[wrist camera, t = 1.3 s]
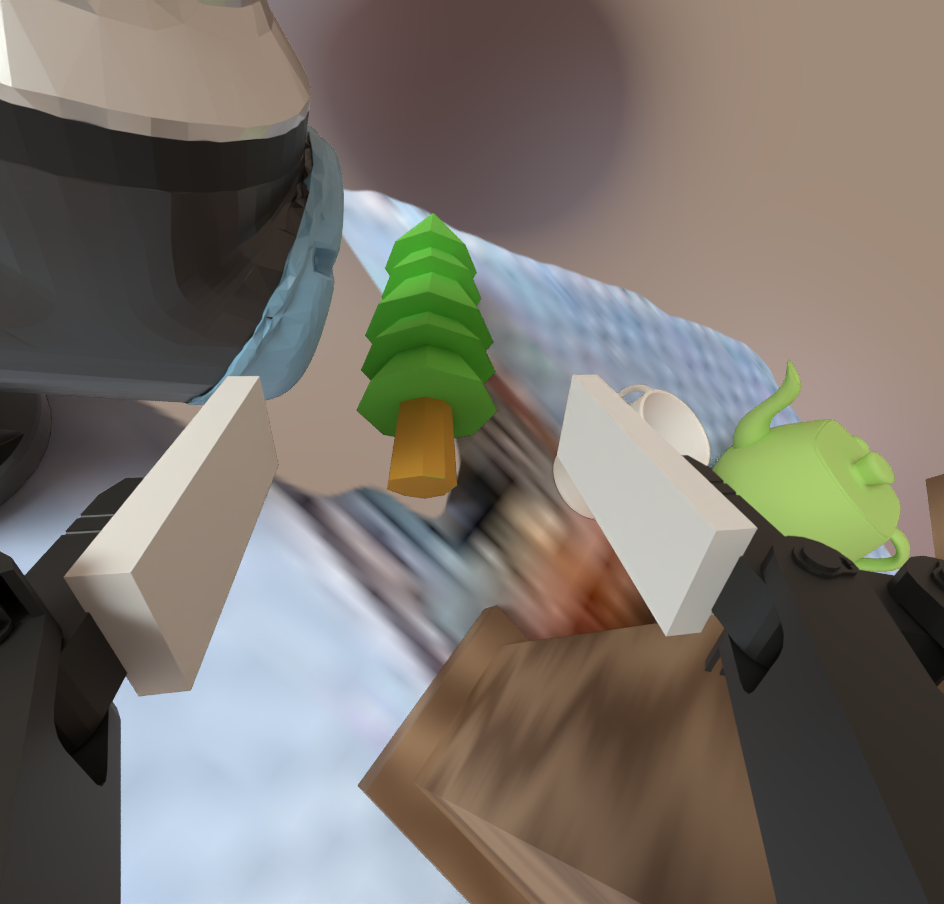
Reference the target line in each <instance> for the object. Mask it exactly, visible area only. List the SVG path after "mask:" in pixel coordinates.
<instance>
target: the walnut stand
mask: <svg viewBox="0 0 944 904" xmlns="http://www.w3.org/2000/svg"><path fill="white" fill-rule="evenodd" d="M926 486H927V493H928V501H929V510H930V518H931V526H932V534H933V541H934V549H935V557H936V558H938V559H942V560H944V474H942V475H939V476H936V477H932V478H929V479H926ZM723 629H724V627H723V626H722V624H721V623H720V622H719V620H718V619H717V618H716V616H715V615H712V616H710V617H709V618H708V620H707V622H706V624H705V626H704V628H703V630H702V631H701V632H700V633H692V634H683V635H674V636H665V634H664V633H663V631H662V629H661V628H660V626H659V624H658V623H656V624H649V625H642V626H635V627H628V628H621V629H614V630H606V631H599V632H592V633H585V634H578V635H571V636H564V637H557V638H550V639H543V640H536V641H530V640H529V639H528V638H527V637H526V636H525V635H524V634H523V633H522V631H521V630H520V629H519V628H518V627H517V626H516V625H515V624H514V623H513V622H512V621H511V620H510V619H509V618H508V617H507V616H506V615H505V614H504V613H503V612H502V611H501V610H500V608H499V607H498V606H493V607H490V608H487V609H484V611H483V612H482V613H481V615H480V616H479V618H478V619H477V620H476V622H475V623H474V625H473V626H472V627H471V629H470V630H469V631H468V633H467V634H466V636H465V637H464V638H463V640H462V641H461V643H460V644H459V645H458V647H457V648H456V650H455V651H454V652H453V654H452V655H451V657H450V658H449V659H448V661H447V662H446V663H445V665H444V666H443V668H442V669H441V670H440V672H439V673H438V675H437V676H436V677H435V679H434V680H433V682H432V683H431V684H430V686H429V687H428V689H427V690H426V691H425V693H424V694H423V695H422V697H421V698H420V700H419V701H418V702H417V704H416V705H415V707H414V708H413V709H412V711H411V712H410V714H409V715H408V716H407V718H406V719H405V721H404V722H403V723H402V725H401V726H400V727H399V729H398V730H397V732H396V733H395V734H394V736H393V737H392V739H391V740H390V741H389V743H388V744H387V746H386V747H385V748H384V750H383V751H382V753H381V754H380V755H379V757H378V758H377V760H376V761H375V762H374V764H373V765H372V766H371V768H370V769H369V771H368V772H367V773H366V775H365V776H364V778H363V779H362V780H361V782H360V783H359V785H358V787H359V788H360V789H361V790H362V791H363V792H364V793H365V794H366V795H367V796H368V797H369V798H370V799H371V800H372V801H373V802H374V804H375V805H376V806H377V807H378V808H379V809H380V810H381V811H382V812H383V813H384V814H385V815H386V816H387V817H388V818H389V819H390V820H391V821H392V822H393V823H394V824H395V825H396V827H397V828H398V829H399V830H400V831H401V832H402V833H403V834H404V835H405V836H406V837H407V838H408V839H409V840H410V841H411V842H412V843H413V844H414V845H415V846H416V847H417V848H418V850H419V851H420V852H421V853H422V854H423V855H424V856H425V857H426V858H427V859H428V860H429V861H430V862H431V863H432V864H433V865H434V866H435V867H436V868H437V869H438V870H439V871H440V873H441V874H442V875H443V876H444V877H445V878H446V879H447V880H448V881H449V882H450V883H451V884H452V885H453V886H454V887H455V888H456V889H457V890H458V891H459V892H460V893H461V895H462V896H463V897H464V898H465V899H466V900H467V901H468V902H469V903H470V904H777V902H776V897H775V893H774V888H773V884H772V880H771V875H770V871H769V867H768V862H767V858H766V853H765V849H764V845H763V840H762V836H761V831H760V827H759V823H758V818H757V814H756V809H755V805H754V801H753V796H752V792H751V788H750V783H749V779H748V774H747V770H746V766H745V761H744V757H743V752H742V748H741V744H740V739H739V735H738V730H737V726H736V722H735V717H734V713H733V708H732V704H731V700H730V695H729V691H728V687H727V682H726V678H725V676H722V675H719V673H720V670H721V668H722V667H723V665H722V660H721V657H720V658H719V659H718V661H717V663H716V664H715V666H714V668H713V669H712V671H711V672H708V671H705V660H706V658H707V657H708V655H709V653H710V651H711V650H712V648H713V646H714V645H715V643H716V641H717V639H718V638H719V636H720V634H721V633H722V631H723ZM937 688H938V689H939V690H940V691H941V692H942V693H943V694H944V681H942V682H941V683H940V684H939V685H938V686H937Z"/></svg>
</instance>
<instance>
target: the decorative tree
mask: <svg viewBox="0 0 944 904" xmlns="http://www.w3.org/2000/svg"><path fill="white" fill-rule="evenodd" d="M385 269H386V271H387V272H388V274H389V275H390V277H389V280H388V282H387V285H386V287H385V290H384V293H383V295H382V299H383V300H382V301H381V302H380V303H379V304H378V306H377V309H376V311H375V313H374V316H373V318H372V321H371V323H370V325H369V328H368V330H367V332H366V335H365V336H366V337H367V338H368V339H369V340H370V342H371V343H372V346H371V349H370V351H369V353H368V355H367V358H366V360H365V362H364V365H363V367H362V369H361V371H362V372H363V373H364V374H365V375H366V376H367V377H368V378H369V379H370V380H371V381H370V383H369V385H368V388H367V389H366V392H365V394H364V396H363V398H362V400H361V402H360V404H359V406H358V408H357V411H358V412H359V413H360V414H361V415H362V416H363V417H364V418H365V419H367V420H368V421H369V422H370V423H371V424H372V425H373V426H374V427H375V428H377V429H378V430H379V431H380V432H381V433H382V434H383V435H388V436H394V437H395V439H394V446H393V454H392V460H391V467H390V473H389V480H388V487H387V489H388V490H391V491H393V492H396V493H399V494H401V495H404V496H411V497H418V498H431V497H436V496H441V495H445V494H446V493H448V492H449V491H450V490H452V489H453V488H454V487H456V486H457V477H456V462H455V447H454V438H458V437H463V436H468V435H473V434H475V433H476V432H477V431H478V430H479V429H480V428H481V427H482V426H483V425H484V424H485V423H486V422H487V421H488V420H489V419H490V418H491V417H492V416H493V415H494V414H495V413H496V412H497V411H498V410H497V408H496V406H495V405H494V403H493V401H492V399H491V397H490V395H489V393H488V392H487V390H486V388H485V386H484V384H485V383H486V382H487V381H488V379H489V378H490V377H491V376H492V375H493V374H494V373H495V370H494V368H493V366H492V364H491V361H490V359H489V357H488V355H487V353H486V350H487V349H488V348H489V347H490V346H491V344H492V343H493V340H492V338H491V336H490V334H489V331H488V329H487V327H486V325H485V322H484V320H483V318H482V316H481V314H480V311H479V309H478V308H477V307H476V306H477V305H478V303H479V301H480V300H481V297H480V295H479V292H478V290H477V288H476V285H475V283H474V280H473V277H474V276H475V274H476V273H477V272H476V269H475V267H474V265H473V262H472V260H471V257H470V255H469V253H468V250H467V248H466V245H465V244H464V243H463V242H462V241H461V240H460V239H459V238H458V237H457V236H456V235H455V234H454V233H453V232H452V231H451V230H450V229H449V228H448V227H447V226H446V225H445V224H444V223H443V222H442V221H441V220H440V219H439V218H438V217H437V216H436V215H435V214H434V213H432V214H431V215H430V216H428V217H427V218H426V219H424V220H423V221H422V222H421V223H419V224H418V225H417V226H415V227H414V228H413V229H411V230H410V231H409V232H407V233H406V234H405V235H403V236H402V237H401V238H399V239H398V240H397V241H395V244H394V247H393V249H392V252H391V254H390V257H389V259H388V262H387V265H386V267H385Z"/></svg>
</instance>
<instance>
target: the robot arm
mask: <svg viewBox="0 0 944 904" xmlns="http://www.w3.org/2000/svg"><path fill="white" fill-rule="evenodd" d="M310 95H311V86H310V82H309V79H308V76H307V74H306V72H305V70H304V68H303V66H302V64H301V62H300V60H299V58H298V57H297V55H296V53H295V52H294V50H293V48H292V46H291V44H290V43H289V41H288V39H287V37H286V36H285V34H284V32H283V31H282V28H281V27H280V25H279V23H278V22H277V20H276V18H275V16H274V14H273V13H272V11H271V9H270V7H269V4H268V1H267V0H0V505H1V504H2V503H4V502H5V501H6V500H7V499H9V498H10V497H11V496H12V495H13V494H14V493H15V492H16V491H17V490H18V489H19V488H20V487H21V486H22V485H23V484H24V483H25V482H26V480H27V479H28V478H29V477H30V475H31V474H32V473H33V471H34V470H35V468H36V467H37V465H38V464H39V462H40V460H41V458H42V456H43V454H44V452H45V450H46V447H47V444H48V441H49V436H50V430H51V412H50V407H49V402H48V400H47V397H46V394H53V395H69V396H86V397H102V398H118V399H135V400H151V401H168V402H184V403H187V404H191V405H201V404H204V406H203V407H202V408H201V409H200V411H199V412H198V413H197V414H196V415H195V417H194V418H193V419H192V420H191V422H190V423H189V424H188V425H187V426H186V428H185V429H184V430H183V431H182V433H181V434H180V435H179V436H178V437H177V439H176V440H175V441H174V442H173V444H172V445H171V446H170V447H169V448H168V450H167V451H166V452H165V453H164V455H163V456H162V457H161V458H160V460H159V461H158V462H157V463H156V464H155V466H154V467H153V468H152V469H151V471H150V472H149V473H148V474H147V475H146V477H145V478H125V479H124V480H122V481H120V482H119V483H117V484H116V485H114V486H112V487H111V488H109V489H107V490H106V491H104V492H103V493H101V494H99V495H98V496H97V497H96V498H95V500H94V501H93V502H92V503H91V504H90V505H89V506H88V507H87V508H86V509H85V510H84V512H83V513H82V514H81V518H77V519H76V520H75V521H74V522H73V524H72V525H71V526H70V527H69V528H68V529H67V530H66V535H61V537H60V538H59V539H58V540H57V541H56V542H55V543H54V544H53V545H52V546H51V547H50V549H49V550H48V551H47V552H46V553H45V554H44V555H43V556H42V557H41V558H40V559H39V561H38V562H37V563H36V564H35V565H34V566H33V567H32V568H31V569H30V570H29V571H28V573H27V574H26V575H25V576H24V575H23V573H22V572H21V570H20V569H19V567H18V566H17V565H16V563H15V562H14V560H13V559H12V558H11V557H10V556H8V555H6V554H4V553H2V552H0V904H121V719H120V716H119V713H118V710H117V707H116V706H115V704H114V703H113V702H112V701H113V699H114V697H115V695H116V693H117V692H118V690H119V688H120V686H121V684H122V682H123V680H124V678H125V676H126V677H127V679H128V680H129V682H130V683H131V685H132V686H133V688H134V690H135V691H136V693H137V694H138V696H146V695H155V694H164V693H173V692H181V691H190V690H191V689H192V686H193V684H194V681H195V679H196V676H197V673H198V671H199V668H200V666H201V663H202V661H203V658H204V655H205V653H206V650H207V648H208V645H209V643H210V640H211V637H212V635H213V632H214V630H215V627H216V625H217V622H218V619H219V617H220V614H221V612H222V609H223V607H224V604H225V601H226V599H227V596H228V594H229V591H230V589H231V586H232V583H233V581H234V578H235V576H236V573H237V571H238V568H239V565H240V563H241V560H242V558H243V555H244V552H245V550H246V547H247V545H248V542H249V540H250V537H251V534H252V532H253V529H254V527H255V524H256V522H257V519H258V516H259V514H260V511H261V509H262V506H263V504H264V501H265V498H266V496H267V493H268V491H269V488H270V486H271V483H272V480H273V478H274V475H275V473H276V470H277V467H278V460H277V456H276V451H275V446H274V441H273V437H272V432H271V428H270V423H269V418H268V413H267V409H266V404H265V400H269V399H273V398H275V397H278V396H280V395H282V394H284V393H286V392H287V391H288V390H290V389H291V388H292V387H293V386H294V385H295V384H296V383H297V382H298V381H299V379H300V378H301V377H302V375H303V374H304V372H305V371H306V369H307V367H308V365H309V363H310V362H311V360H312V357H313V355H314V353H315V350H316V348H317V345H318V342H319V340H320V337H321V334H322V331H323V328H324V325H325V321H326V318H327V315H328V311H329V307H330V303H331V299H332V294H333V289H334V277H333V270H332V267H333V265H334V263H335V261H336V258H337V255H338V253H339V250H340V243H341V238H342V228H343V214H344V191H343V179H342V172H341V166H340V163H339V159H338V157H337V154H336V152H335V150H334V148H333V147H332V146H331V145H330V144H329V143H328V142H327V141H326V140H325V139H323V138H322V137H320V135H319V134H318V133H317V132H316V131H315V130H314V129H313V128H312V127H310V126H307V124H308V116H309V107H310ZM557 456H558V457H559V459H560V461H561V462H562V464H563V466H564V467H565V469H566V471H567V472H568V474H569V476H570V477H571V479H572V481H573V482H574V484H575V486H576V487H577V489H578V491H579V492H580V494H581V496H582V497H583V499H584V501H585V502H586V504H587V506H588V508H589V509H590V511H591V513H592V514H593V516H594V518H595V519H596V521H597V523H598V524H599V526H600V528H601V529H602V531H603V533H604V534H605V536H606V538H607V539H608V541H609V543H610V544H611V546H612V548H613V549H614V551H615V553H616V554H617V556H618V558H619V559H620V561H621V563H622V564H623V566H624V568H625V569H626V571H627V573H628V574H629V576H630V578H631V579H632V581H633V583H634V584H635V586H636V588H637V589H638V591H639V593H640V594H641V596H642V598H643V599H644V601H645V603H646V604H647V606H648V608H649V609H650V611H651V613H652V614H653V616H654V618H655V619H656V621H657V623H658V624H659V626H660V628H661V629H662V631H663V633H664V634H665V636H674V635H683V634H692V633H700V632H701V631H702V630H703V628H704V626H705V624H706V622H707V620H708V618H709V617H710V615H711V613H712V612H713V613H714V615H715V616H716V618H717V619H718V620H719V622H720V623H721V624H722V626H723V627H724V629H723V631H722V633H721V634H720V636H719V638H718V639H717V641H716V643H715V645H714V646H713V648H712V650H711V651H710V653H709V655H708V657H707V658H706V660H705V671H708V672H711V671H712V669H713V668H714V666H715V664H716V663H717V661H718V659H719V658H720V657H721V660H722V665H723V667H722V668H721V670H720V673H719V675H722V676H725V678H726V682H727V687H728V691H729V695H730V700H731V704H732V708H733V713H734V717H735V722H736V726H737V730H738V735H739V739H740V744H741V748H742V752H743V757H744V761H745V766H746V770H747V774H748V779H749V783H750V788H751V792H752V796H753V801H754V805H755V809H756V814H757V818H758V823H759V827H760V831H761V836H762V840H763V845H764V849H765V853H766V858H767V862H768V867H769V871H770V875H771V880H772V884H773V888H774V893H775V897H776V902H777V904H944V694H943V693H942V692H941V691H940V690H939V689H938V688H937V686H938V685H939V684H940V683H941V682H942V681H944V560H942V559H938V558H932V557H927V556H916V557H911V558H909V559H908V560H907V561H906V562H905V563H904V565H903V566H902V567H901V568H900V570H899V571H898V572H897V573H896V574H895V576H893V575H887V574H881V573H876V572H870V571H864V570H860V569H859V568H858V567H857V566H856V565H855V564H854V563H853V562H852V561H851V560H850V559H848V558H847V557H846V556H844V555H843V554H841V553H840V552H839V551H837V550H835V549H833V548H831V547H829V546H827V545H825V544H823V543H821V542H818V541H815V540H812V539H808V538H805V537H799V536H784V535H783V534H782V533H781V532H780V531H778V530H777V529H776V528H775V527H774V526H773V525H772V524H771V523H770V522H769V521H767V520H766V519H765V518H764V517H763V516H762V515H761V514H760V513H759V512H758V511H756V510H755V509H754V508H753V507H752V506H751V505H750V504H749V503H748V502H747V501H746V500H744V499H743V498H742V497H741V496H740V495H736V491H735V490H733V489H732V488H731V487H730V486H729V485H728V484H727V483H724V482H723V481H724V480H722V479H721V478H720V477H719V476H718V475H717V474H716V473H715V472H714V471H713V470H711V469H710V468H709V467H708V466H706V465H704V464H703V463H701V462H699V461H697V460H696V459H694V458H692V457H690V456H688V455H681V454H680V453H679V452H678V451H677V450H675V449H674V448H673V447H672V446H671V445H670V444H669V443H668V442H667V441H666V440H665V439H664V438H663V437H662V436H661V435H660V434H659V433H658V432H657V431H656V430H655V429H654V428H652V427H651V426H650V425H649V424H648V423H647V422H646V421H645V420H644V419H643V418H642V417H641V416H640V415H639V414H638V413H637V412H636V411H635V410H634V409H633V408H632V407H631V406H629V405H628V404H627V403H626V402H625V401H624V400H623V399H622V398H621V397H620V396H619V395H618V394H617V393H616V392H615V391H614V390H613V389H612V388H611V387H610V386H609V385H607V384H606V383H605V382H604V381H603V380H602V379H601V378H600V377H599V376H598V375H572V380H571V385H570V390H569V395H568V401H567V406H566V411H565V416H564V421H563V426H562V432H561V437H560V442H559V447H558V452H557Z"/></svg>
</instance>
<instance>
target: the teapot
mask: <svg viewBox="0 0 944 904" xmlns="http://www.w3.org/2000/svg"><path fill="white" fill-rule="evenodd" d="M800 390H801V381H800V378H799V375H798V373H797V371H796V369H795V367H794V365H793V363H792V362H791V361H790V360H788V361H787V370H786V377H785V380H784V381H783V384H782V386H781V387H780V388H779V389H778V390H777V392H775V393H774V394H773V395H772V396H771V397H770V398H768V399H767V400H765V401H764V402H762V403H761V404H759V405H758V406H757V407H755V408H754V409H752V410H751V411H750V412H748V413H747V414H746V415H745V416H744V417H743V418H742V419H741V420H740V422H739V424H738V425H737V427H736V429H735V433H734V440H733V446H731V447H730V448H729V449H728V450H727V451H726V452H725V453H724V454H723V455H722V457H721V458H720V459H719V460H718V462H717V463H716V464H715V466H714V467H713V469H712V470H713V471H714V472H715V473H716V474H717V475H718V476H719V477H720V478H721V479H722V480H724V481H723V482H724V483H727V484H728V485H729V486H730V487H731V488H732V489H733V490H735V491H736V495H740V496H741V497H742V498H743V499H744V500H746V501H747V502H748V503H749V504H750V505H751V506H752V507H753V508H754V509H755V510H756V511H758V512H759V513H760V514H761V515H762V516H763V517H764V518H765V519H766V520H767V521H769V522H770V523H771V524H772V525H773V526H774V527H775V528H776V529H777V530H778V531H780V532H781V533H782V534H783V535H784V536H799V537H805V538H808V539H812V540H815V541H818V542H821V543H823V544H825V545H827V546H829V547H831V548H833V549H835V550H837V551H839V552H840V553H841V554H843V555H844V556H846V557H847V558H848V559H850V560H851V561H852V562H853V563H854V564H855V565H856V566H857V567H858V568H859V569H860V570H864V571H871V572H887V571H893V570H896V569H899V568H901V567H902V566H903V565H904V563H905V562H906V561H907V560H908V558H909V555H910V545H909V541H908V539H907V537H906V536H905V535H904V534H903V533H902V531H900V530H899V529H898V528H897V524H898V520H899V517H900V502H899V500H898V497H897V495H896V494H895V492H894V490H893V489H892V487H891V486H890V484H893V483H894V482H895V477H894V473H893V471H892V469H891V467H890V465H889V464H888V462H887V461H886V460H885V459H884V458H883V457H882V456H881V455H880V454H878V453H876V452H875V451H871V452H870V448H869V446H868V445H867V444H866V442H865V441H863V440H862V439H861V438H859V437H857V436H851V435H850V434H849V432H848V431H847V430H846V429H845V428H844V427H842V425H840V424H839V423H838V422H836V421H835V420H831V419H828V420H815V421H807V422H800V423H793V424H787V425H782V426H777V427H773V428H770V423H771V420H772V418H773V417H774V416H775V415H776V414H777V413H778V412H780V411H781V410H782V409H784V408H785V407H787V406H788V405H789V404H791V403H792V402H793V401H794V400H795V399H796V397H797V396H798V394H799V392H800ZM889 539H890V540H891V541H892V543H893V544H894V546H895V548H896V555H895V556H893V557H889V558H879V559H874V558H862V557H864V556H865V555H867V554H869V553H870V552H872V551H874V550H875V549H877V548H878V547H880V546H881V545H883V544H884V543H885V542H887V541H888V540H889Z"/></svg>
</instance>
